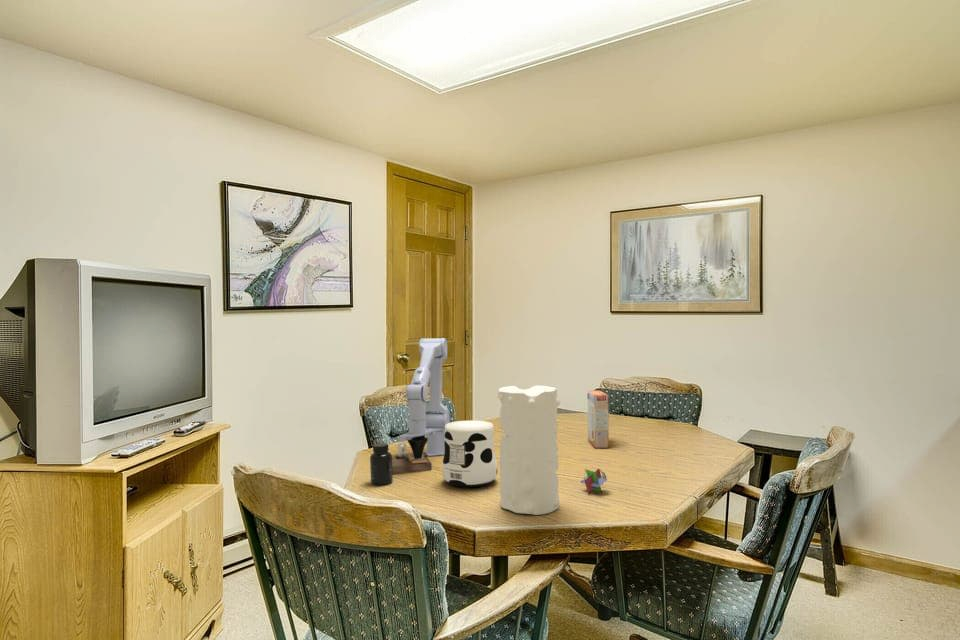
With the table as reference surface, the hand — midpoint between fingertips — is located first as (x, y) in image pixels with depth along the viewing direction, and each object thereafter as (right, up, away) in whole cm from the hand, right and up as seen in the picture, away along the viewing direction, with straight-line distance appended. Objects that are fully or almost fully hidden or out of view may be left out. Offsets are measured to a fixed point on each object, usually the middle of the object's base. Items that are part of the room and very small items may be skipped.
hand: (417, 458), depth 184 cm
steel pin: (-6, -4, +7) cm, 10 cm away
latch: (0, -1, 0) cm, 1 cm away
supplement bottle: (-10, -4, -15) cm, 18 cm away
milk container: (+18, -3, -16) cm, 24 cm away
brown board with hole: (-4, -4, +4) cm, 7 cm away
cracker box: (+69, -3, +31) cm, 76 cm away
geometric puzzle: (+54, -3, -27) cm, 61 cm away
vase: (+35, -3, -38) cm, 52 cm away
